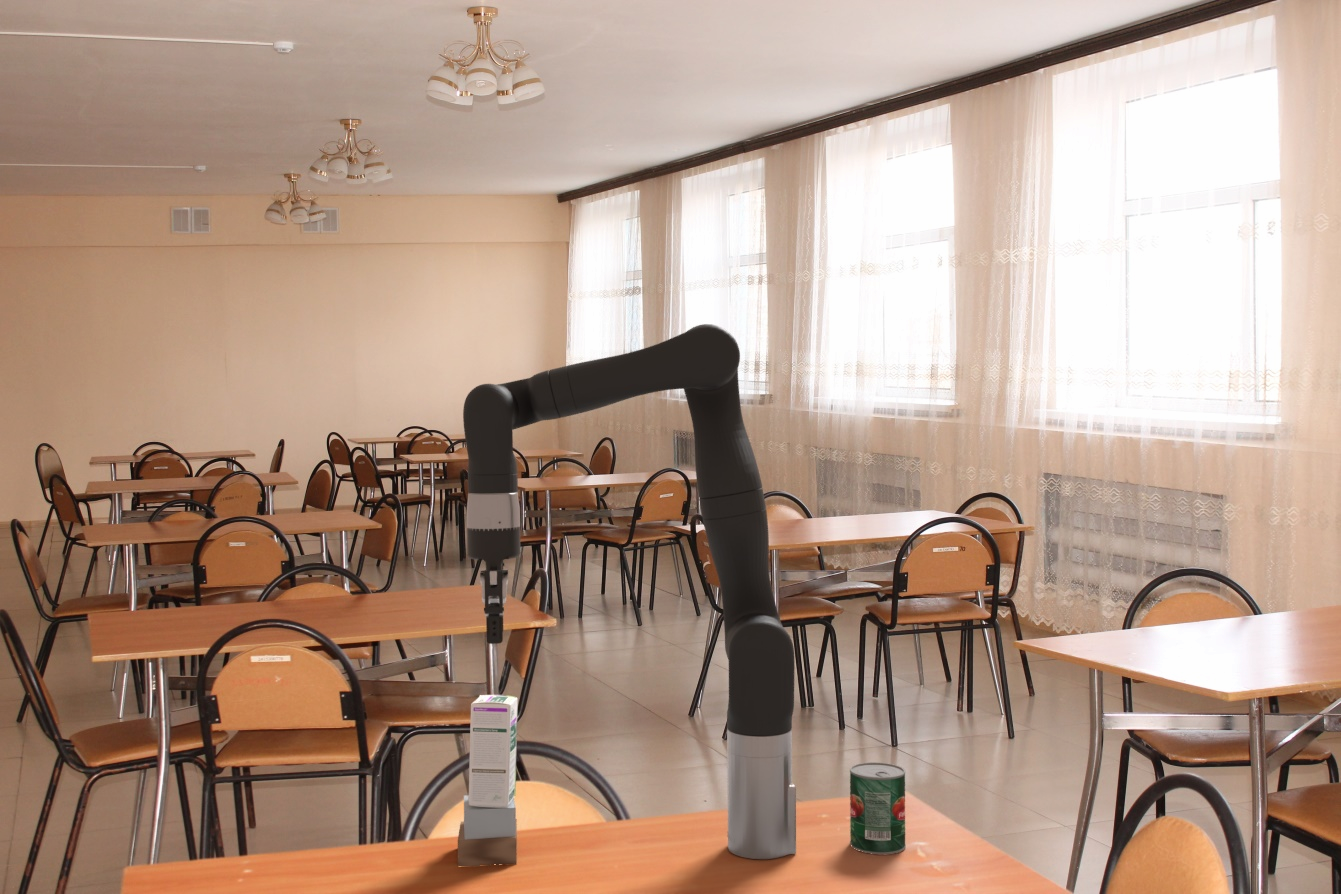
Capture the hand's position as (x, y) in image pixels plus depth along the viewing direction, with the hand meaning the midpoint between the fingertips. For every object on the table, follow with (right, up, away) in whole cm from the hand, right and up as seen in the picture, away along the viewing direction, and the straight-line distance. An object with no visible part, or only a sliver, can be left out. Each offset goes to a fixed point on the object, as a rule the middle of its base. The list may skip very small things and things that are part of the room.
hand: (495, 638), depth 170 cm
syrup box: (0, -23, -2) cm, 23 cm away
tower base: (-1, -31, -2) cm, 31 cm away
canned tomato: (+55, -30, +1) cm, 63 cm away
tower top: (-1, -27, -2) cm, 27 cm away
